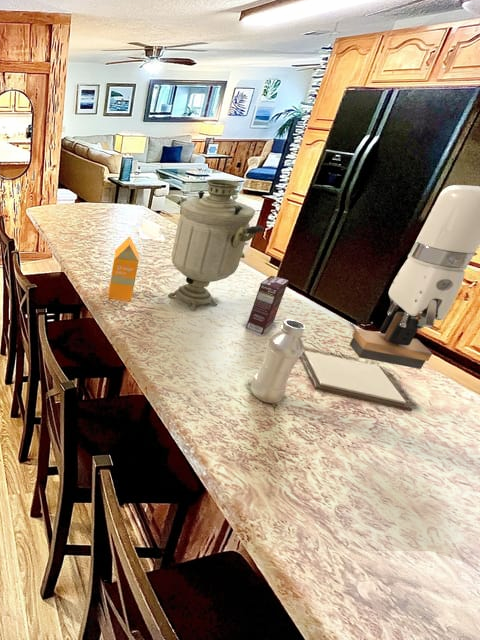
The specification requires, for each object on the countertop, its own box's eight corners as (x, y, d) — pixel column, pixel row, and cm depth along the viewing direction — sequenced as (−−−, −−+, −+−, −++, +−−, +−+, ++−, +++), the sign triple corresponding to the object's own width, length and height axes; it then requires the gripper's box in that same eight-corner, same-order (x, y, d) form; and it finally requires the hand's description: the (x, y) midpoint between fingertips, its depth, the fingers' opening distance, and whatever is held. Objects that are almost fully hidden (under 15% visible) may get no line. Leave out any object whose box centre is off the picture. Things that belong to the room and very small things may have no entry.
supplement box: (254, 320, 120) (271, 274, 113) (272, 327, 117) (290, 280, 110) (243, 330, 115) (260, 282, 108) (261, 337, 112) (279, 288, 105)
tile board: (379, 368, 100) (381, 364, 99) (411, 411, 86) (414, 406, 86) (297, 351, 106) (299, 347, 105) (315, 389, 92) (317, 384, 92)
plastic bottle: (279, 393, 91) (311, 321, 82) (281, 411, 85) (315, 336, 77) (248, 383, 94) (275, 312, 85) (248, 400, 88) (277, 327, 80)
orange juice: (107, 298, 132) (116, 243, 123) (109, 286, 139) (117, 234, 130) (131, 301, 130) (142, 246, 121) (131, 290, 137) (141, 237, 128)
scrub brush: (408, 354, 81) (432, 313, 77) (422, 370, 77) (448, 327, 72) (347, 343, 84) (367, 304, 80) (358, 357, 80) (379, 316, 75)
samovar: (266, 325, 118) (316, 195, 100) (181, 324, 117) (216, 193, 100) (216, 282, 144) (248, 173, 127) (147, 281, 144) (169, 172, 126)
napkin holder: (137, 229, 200) (139, 218, 197) (160, 230, 198) (163, 220, 195) (141, 238, 187) (143, 227, 184) (165, 240, 185) (168, 229, 182)
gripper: (499, 276, 62) (441, 366, 71) (439, 243, 76) (396, 322, 84) (439, 268, 65) (389, 357, 73) (391, 238, 79) (354, 315, 87)
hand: (393, 337), depth 78 cm, fingers closed on scrub brush, 2 cm apart
